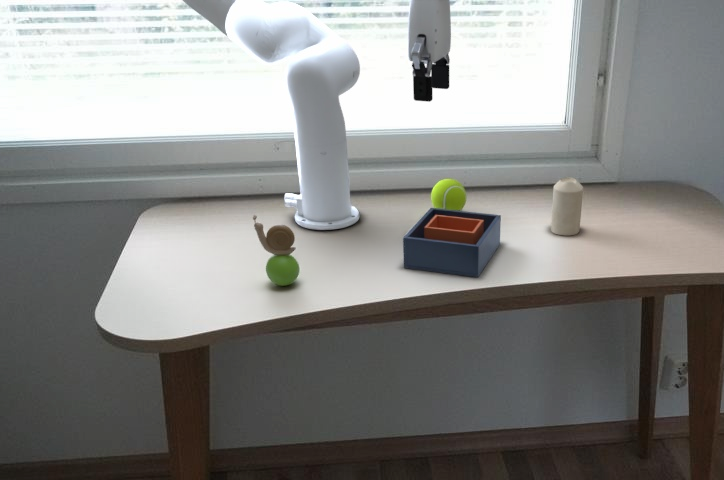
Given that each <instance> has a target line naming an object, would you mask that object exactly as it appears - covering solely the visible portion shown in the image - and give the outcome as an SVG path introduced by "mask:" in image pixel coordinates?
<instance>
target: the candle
mask: <svg viewBox="0 0 724 480" xmlns="http://www.w3.org/2000/svg"><path fill="white" fill-rule="evenodd" d="M583 197H584V186H583V185H582V184H581V182H579V181H578V180H577V179H575V177H572V176H570V177H564V178H563V179H562V178H560V179H559V180H558V181H557V182H556V183H555V184H554V185H553V190H552V204H551V218H550V219H551V221H550V231H551V232H552V233H553V234H556V235H559V236H574V235H577V234H578V233H579V232H580V229H581V219H582V218H581V217H582V207H583Z"/></svg>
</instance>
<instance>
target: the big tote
mask: <svg viewBox="0 0 724 480" xmlns="http://www.w3.org/2000/svg"><path fill="white" fill-rule="evenodd" d="M435 215H443V216H452V217H461V218H470V219H479V220H484V234H483V236H482V237H481V238H480V240H479V241H478V242H477V244H476V245H473V244H465V243H457V242H448V241H440V240H431V239H425V237H424V227H425V226H426V225H427V224H428V223H429V222H430V220H431V219H432V218H433V217H434V216H435ZM501 222H502V215H501V214H492V213H483V212H474V211H465V210H460V211H457V210H448V209H439V208H434V207H430V208H429V209H428V210H427V211H426V212H425V213H424V214H423V215H422V216H421V217H420V218H419V220H418V221H416V223H415V224H414V225H413V226H412V227H411V228H410V229H409V231H407V233H406V234H405V235H404V236H403V237H402V250H403V268H404V269H409V270H418V271H424V272H425V271H426V272H431V273H441V274H447V275H448V274H449V275H457V276H463V277H464V276H465V277H471V278H479V276H480V275H481V274H482V272H483V270H484V269H485V267H486V266H487V265H488V263H489V261H490V260H491V259H492V257H493V255H494V254H495V252H496V251H497V250H498V248H499V246H500V245H501V227H502V225H501V224H502V223H501Z"/></svg>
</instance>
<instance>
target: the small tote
mask: <svg viewBox="0 0 724 480" xmlns="http://www.w3.org/2000/svg"><path fill="white" fill-rule="evenodd" d="M483 234H484V220H479V219H470V218H461V217H452V216H443V215H435V216H434V217H433V218H432V219H431V220H430V222H429V223H428V224H427V225H426V226H425V227H424V237H425V239H431V240H440V241H448V242H457V243H465V244H473V245H476V244H477V242H478V241H479V240H480V238H481V237H482V236H483Z"/></svg>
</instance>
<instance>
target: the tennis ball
mask: <svg viewBox="0 0 724 480" xmlns="http://www.w3.org/2000/svg"><path fill="white" fill-rule="evenodd" d="M430 193H431V194H430V200H431V204H432V206H433V208H439V209H448V210H457V211H462V210H463V208H464V207H465V205H466V201H467V191H466V189H465V186H464V185H463V184H462V183H461V182H459V181H458V180H456V179H453V178H443V179H441V180H439V181H438V182H437V183H436V184H435V185H434V186H433V188H432V189H431V192H430Z"/></svg>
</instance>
